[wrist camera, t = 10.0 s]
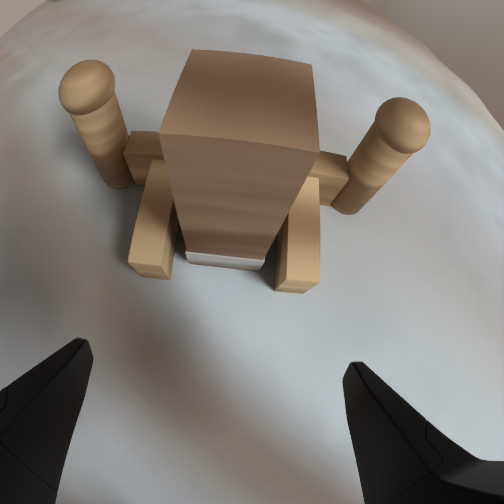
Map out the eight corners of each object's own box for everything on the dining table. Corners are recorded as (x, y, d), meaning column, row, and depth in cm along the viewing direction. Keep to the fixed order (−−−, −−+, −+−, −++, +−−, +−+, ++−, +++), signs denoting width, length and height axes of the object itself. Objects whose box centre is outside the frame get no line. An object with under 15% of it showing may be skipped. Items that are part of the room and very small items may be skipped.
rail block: (258, 272, 20) (323, 156, 8) (189, 265, 20) (154, 135, 7) (262, 210, 22) (314, 63, 9) (198, 202, 21) (190, 48, 9)
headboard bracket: (369, 298, 20) (477, 251, 10) (76, 267, 18) (-16, 197, 8) (361, 183, 23) (430, 97, 13) (109, 155, 22) (68, 52, 11)
